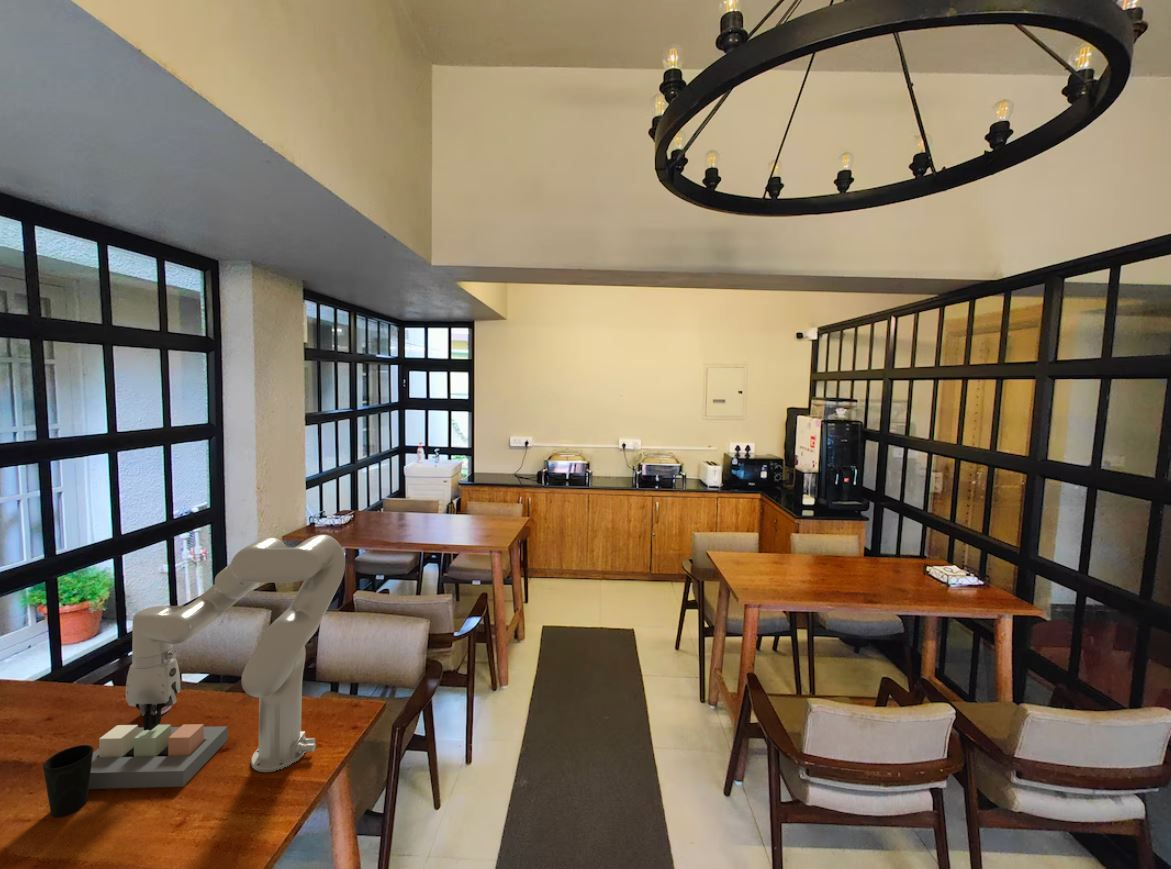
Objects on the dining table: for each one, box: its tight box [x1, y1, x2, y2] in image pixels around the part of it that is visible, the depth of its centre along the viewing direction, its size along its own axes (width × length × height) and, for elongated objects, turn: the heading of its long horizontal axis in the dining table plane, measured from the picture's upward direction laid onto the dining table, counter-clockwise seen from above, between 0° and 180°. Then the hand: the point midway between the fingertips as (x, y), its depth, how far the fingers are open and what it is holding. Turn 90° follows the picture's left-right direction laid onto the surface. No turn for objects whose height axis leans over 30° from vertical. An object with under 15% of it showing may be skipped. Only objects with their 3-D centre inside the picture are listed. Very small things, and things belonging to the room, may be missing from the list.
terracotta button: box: [167, 723, 205, 756], centre depth 121 cm, size 5×5×5 cm
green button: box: [133, 724, 172, 757], centre depth 121 cm, size 5×5×5 cm
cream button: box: [98, 724, 139, 757], centre depth 120 cm, size 5×5×5 cm
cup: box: [42, 744, 94, 819], centre depth 107 cm, size 8×8×12 cm
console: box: [88, 725, 229, 790], centre depth 121 cm, size 26×16×4 cm, turn 95°
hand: (152, 726), depth 120 cm, fingers closed
